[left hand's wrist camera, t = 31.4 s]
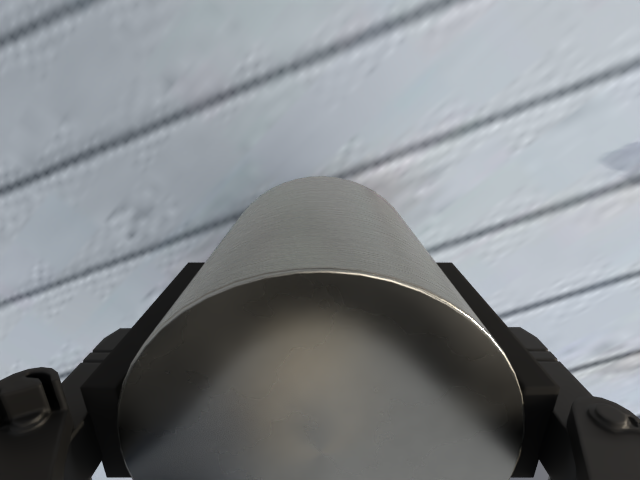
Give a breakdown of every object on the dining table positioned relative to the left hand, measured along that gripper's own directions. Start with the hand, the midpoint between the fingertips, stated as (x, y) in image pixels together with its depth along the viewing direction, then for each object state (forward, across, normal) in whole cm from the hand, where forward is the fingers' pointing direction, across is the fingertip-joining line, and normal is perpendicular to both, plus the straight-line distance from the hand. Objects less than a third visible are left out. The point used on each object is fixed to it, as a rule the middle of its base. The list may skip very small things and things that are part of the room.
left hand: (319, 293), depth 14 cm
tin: (+2, 0, 0) cm, 2 cm away
